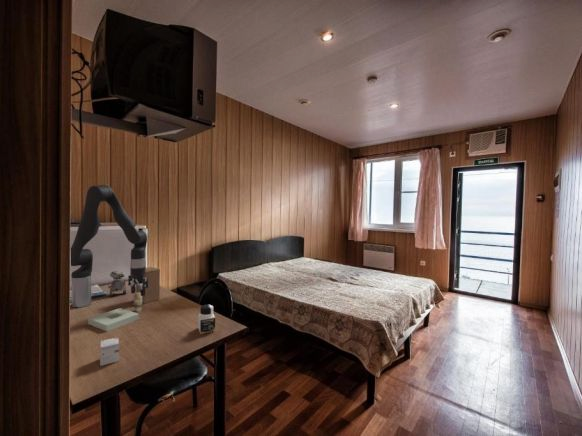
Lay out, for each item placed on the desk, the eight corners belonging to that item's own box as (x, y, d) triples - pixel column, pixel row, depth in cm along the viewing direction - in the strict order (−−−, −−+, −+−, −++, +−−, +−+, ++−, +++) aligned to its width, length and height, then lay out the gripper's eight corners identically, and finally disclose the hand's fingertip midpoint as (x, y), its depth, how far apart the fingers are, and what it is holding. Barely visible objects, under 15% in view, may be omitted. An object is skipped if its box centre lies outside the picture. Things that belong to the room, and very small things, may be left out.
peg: (131, 311, 152) (132, 294, 152) (139, 308, 156) (139, 291, 156) (136, 312, 150) (136, 295, 150) (143, 310, 154) (144, 293, 154)
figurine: (123, 290, 187) (123, 269, 186) (126, 295, 178) (126, 272, 178) (107, 293, 181) (107, 271, 180) (110, 297, 172) (110, 274, 172)
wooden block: (159, 299, 172) (160, 268, 171) (144, 304, 164) (144, 271, 163) (151, 296, 177) (151, 266, 176) (135, 300, 169) (135, 269, 168)
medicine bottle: (200, 334, 128) (200, 309, 128) (197, 327, 134) (198, 304, 134) (215, 331, 131) (215, 307, 131) (212, 325, 138) (212, 302, 137)
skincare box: (100, 366, 101) (100, 347, 100) (100, 358, 106) (100, 340, 105) (119, 361, 104) (119, 342, 104) (118, 354, 109) (118, 336, 109)
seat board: (88, 324, 135) (88, 318, 134) (120, 313, 149) (120, 307, 149) (106, 331, 128) (106, 325, 127) (138, 319, 142) (138, 313, 142)
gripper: (123, 266, 152) (123, 294, 152) (139, 269, 145) (139, 298, 146) (136, 263, 158) (136, 290, 159) (152, 266, 152) (152, 294, 152)
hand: (138, 294), depth 152 cm, fingers open, 8 cm apart
